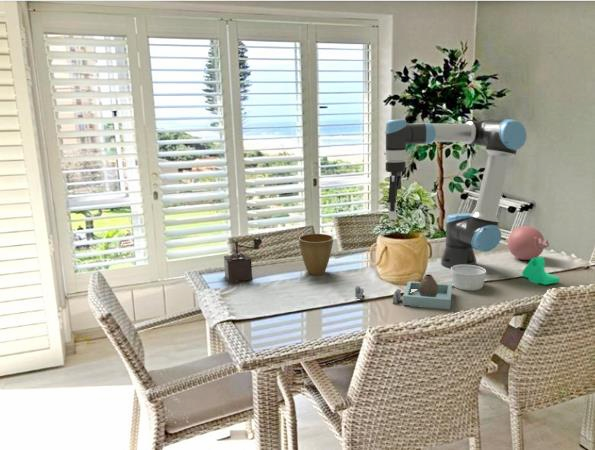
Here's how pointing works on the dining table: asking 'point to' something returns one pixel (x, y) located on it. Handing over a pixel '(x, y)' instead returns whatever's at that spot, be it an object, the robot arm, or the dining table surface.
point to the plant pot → (316, 252)
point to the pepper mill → (239, 263)
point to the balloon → (526, 243)
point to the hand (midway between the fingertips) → (395, 215)
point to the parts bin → (439, 301)
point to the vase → (428, 286)
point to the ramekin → (468, 277)
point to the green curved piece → (538, 272)
